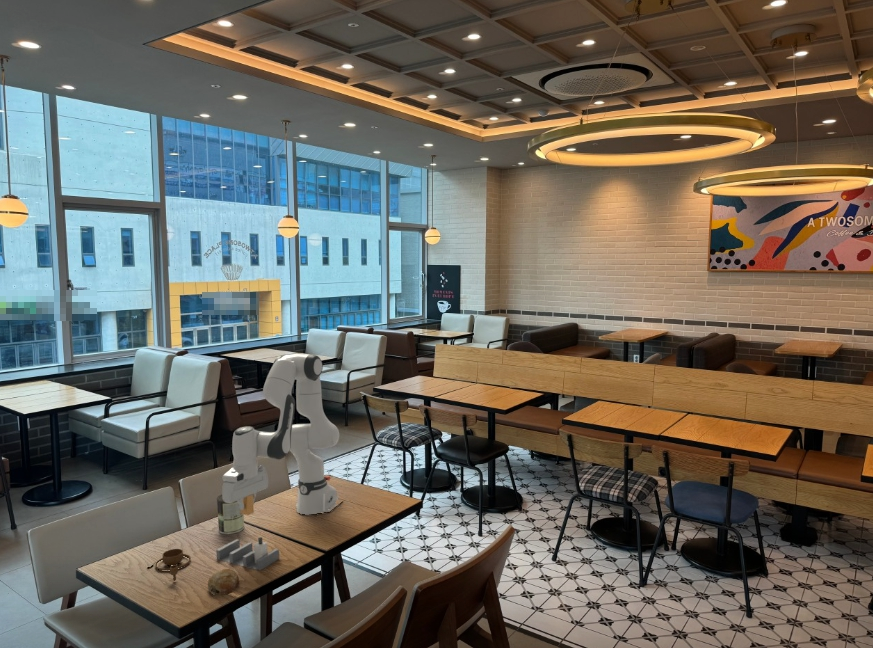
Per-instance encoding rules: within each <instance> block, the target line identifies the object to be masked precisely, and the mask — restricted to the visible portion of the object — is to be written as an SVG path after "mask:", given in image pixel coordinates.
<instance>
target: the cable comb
mask: <svg viewBox="0 0 873 648" xmlns="http://www.w3.org/2000/svg"><path fill="white" fill-rule="evenodd" d="M240 544H241V543H240V539H234V540H233V541H232V540H231V541H230V542H228V543H226V544H225V545H222V546H221V547H219V548H217V549H216V551H215V552H216V560H219V561H223V562H226V563H230V564H233V565H237V566H241V567H244V568H245V567H246V568H250V569H253V570H256V571H263V570H264V569H265V568H267V567H268V566H269V565H271V564H273V563H275V562H276V561H278V560H279V559H280V550H279V548H274V549H273V550H271V551H269V552H268V553H267V554H266V555H264V556H262V557H261V558H259V559H257V560H256V562H257V563H255V556H254V548H253V542H249V541H248V542H247V543H245V544H243V545H242V546H240Z"/></svg>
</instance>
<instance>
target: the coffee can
mask: <svg viewBox="0 0 873 648" xmlns="http://www.w3.org/2000/svg"><path fill="white" fill-rule="evenodd" d="M216 503H217V518H218V519H217V520H218V533H219V534H222V535H233V534H236V533H240V532H241V531H243V530H244V529H245V514H241V509H240V508H239V504H238V502H237V501H235V502H233V503H226V502H224V501H223V498H222V494H220V495H218V496H217V497H216Z"/></svg>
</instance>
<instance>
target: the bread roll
mask: <svg viewBox="0 0 873 648" xmlns="http://www.w3.org/2000/svg"><path fill="white" fill-rule="evenodd" d="M239 580H240V578H239V575H238V574H237V572H235V571H234V570H232V569H228V568H224V569H222V570H219V571H216V572H214V573H212V574H211V576H210V577H209V579H208V581H207V582H208V583H207V588H208V591H209V593H210V592H211V595H212V594H213V596H214V595H215V594H222V595H228V594H232V591H233V590H235V589H236V588H237V586H238V585H239V582H240V581H239ZM215 596H216V595H215Z"/></svg>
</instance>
